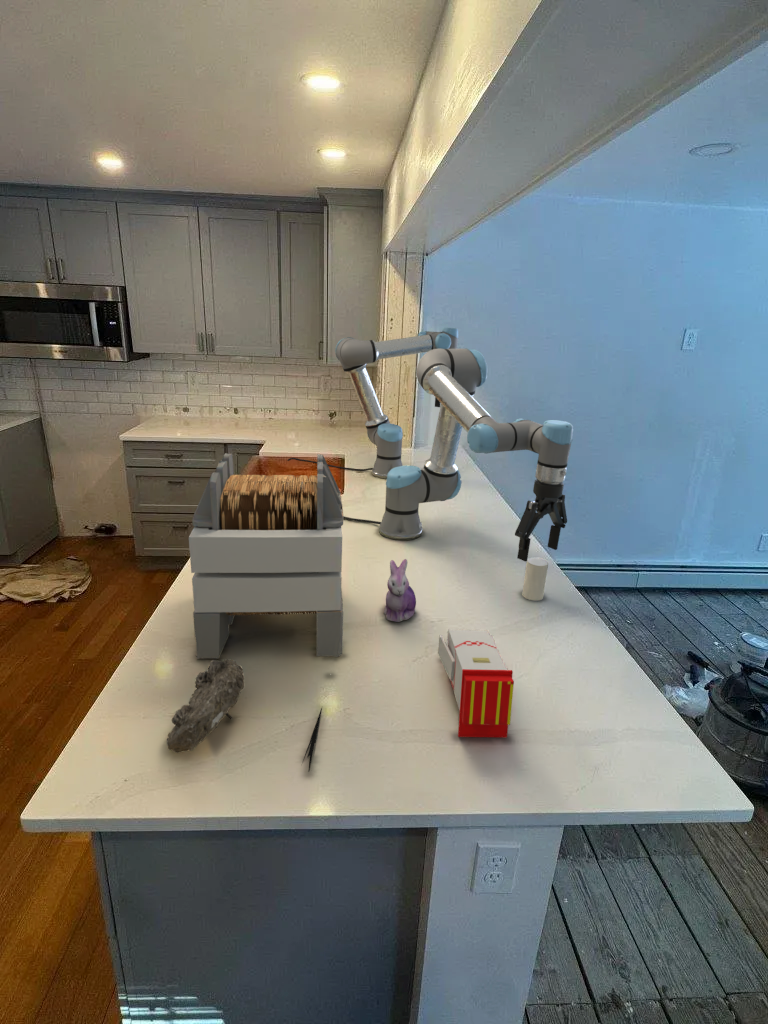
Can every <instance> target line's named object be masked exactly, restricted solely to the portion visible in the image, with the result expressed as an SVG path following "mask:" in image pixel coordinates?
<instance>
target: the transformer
mask: <svg viewBox="0 0 768 1024" xmlns="http://www.w3.org/2000/svg"><path fill="white" fill-rule="evenodd" d="M316 457H317V458H316V462H317V465H316V466H317V467H316V475H309V476H308V475H304V474H303V475H302V474H301V475H298V476H295V475H293V474H272V475H265V474H242V475H241V474H235V472H234V458H233V453H227V452H225V453H224V454H223V456H222V458H221V460H219V461H218V464H217V466H216V468H215V469H214V470H215V471H214V472H211V475H210V477H209V479H208V481H207V484H206V486H205V488H204V489H203V493H202V494H201V496H200V499H199V502H198V504H197V507H196V509H195V510H194V513H193V516H192V518H191V520H192V526H193V528H192V530H191V532H190V534H189V536H188V547H189V558H190V559H189V560H190V572H191V574H193V575H192V577H191V584H192V585H191V586H192V597H193V609H194V610H193V612H192V614H193V615H192V617H193V618H192V619H193V629H194V640H195V648H196V655H195V657H196V659H197V660H203V659H220V657H221V654H222V652H223V649H224V648H225V645H226V643H227V640H228V638H229V636H230V626H232V625H233V621H234V618H235V616H250V615H251V616H253V615H254V616H256V615H257V616H260V615H263V616H265V615H267V616H269V615H275V616H276V615H277V616H278V615H305V614H306V615H308V614H309V615H311V614H313V615H316V657H335V658H337V657H340V656H342V655H343V647H344V646H343V644H344V643H343V642H344V641H343V640H344V639H343V638H344V608H343V607H344V606H343V605H344V604H343V595H342V579H343V577H342V567H343V566H342V565H343V564H342V562H343V530H342V529H343V528H342V527H343V525H344V520H345V519H344V517H345V516H344V510H343V500H342V494H341V493H342V492H341V491H340V488H339V486H338V484H337V482H336V480H335V477H334V475H333V474H332V471H331V469H330V466H328V465H329V464H328V462H327V461H326V458H325V456H324V454H320V453H317V455H316ZM327 464H328V465H327ZM343 516H344V517H343Z"/></svg>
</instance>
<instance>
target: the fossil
mask: <svg viewBox="0 0 768 1024" xmlns="http://www.w3.org/2000/svg"><path fill="white" fill-rule="evenodd" d="M243 670H244V669H243V667H242V665H240V664H237V662H236V661H235V660H234V659H232V658H231V659H227V658H226V659H224V660H223V661H222V660H217V659H212V660H211V661H210V663H209V665H208V666H207V671H201V672H199V673H198V674H197V675H196V676H195V680H194V684H195V685H194V687H195V689H194V690H193V693H192V694H191V697H190V698H189V700H188V704H184V705H182V706H181V707H180V709H177V710H176V711H175V713H174V715H173V716H172V718H171V723H172V724H173V727H172V730H171V731H170V732H168V734H167V738H166V741H167V742H166V745H167V749H168V750H169V751H173V752H174V753H176V754H178V753H182V752H188V751H189V752H192V751H193V750H195V748H196V747H197V746H199V744H200V743H201V742H203V741H204V740H205V739H206V738H207V737H208V736H209V735H210V734H211V733H212V732H214V730H215V729H217V727H218V726H219V724H220V722H221V721H222V720H223V719H224V718H225V716H226V717H227V719H229V720H233V717H232V715H230V714H229V710H230V709H231V708H234V706H235V704H236V703H237V702H238V699H239V697H240V695H241V693H242V691H243V690H245V689H244V688H245V675H244V671H243Z"/></svg>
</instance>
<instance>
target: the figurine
mask: <svg viewBox="0 0 768 1024" xmlns="http://www.w3.org/2000/svg"><path fill="white" fill-rule="evenodd" d="M407 567H408V559H406V558H404V559H403V560H402V561H401V563H400V565H399V566H398V565H397V563H396V562H395V561H394V560H393V559H391V560H390V561H389V570H390V576H389V578H388V579H387V589H388V591H387V592H386V594H385V595H386V596H385V607H384V615H385V616H386V620H387V621H391V622H395V623H400V622H402V621H406V620H409V619H410V618H411V617H413V616H414V615H415V610H416V606H417V597H416V593H415V591H414V590H413V587H411V586H410V582H409V579H408V577H407V574H406V571H407Z"/></svg>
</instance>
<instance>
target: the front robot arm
mask: <svg viewBox="0 0 768 1024" xmlns="http://www.w3.org/2000/svg"><path fill="white" fill-rule="evenodd" d="M487 378H488V364H487V361H486V359H485V356H484V355H483V353H481V351H479V350H477V349H473V348H467V347H466V348H457V349H442V348H439V349H433V350H430V351H429V352H425V353H423V354H422V356H421V358H420V359H419V361H418V363H417V366H416V379H417V381H418V384H419V385H420V387H421V388H422V389H423V390H424V391H425V392H426V393H427V394H428V395H433V397H434V398H435V397H436V398H437V399H438V400H439V402H440V407H439V412H438V416H437V422H436V427H435V431H434V437H433V442H432V448H431V452H430V457H429V458H428V459H426V460H425V462H424V465H423V469H421V467H419V466H416V465H412V464H411V465H406V464H405V465H403V466H399V467H395V468H393V469H391V470H390V471H389V472H388V474H387V479H385V504H384V505H385V507H384V508H385V509H384V513H383V515H382V519H381V521H377V520H370V519H361V518H354V517H349V516H344V515H343V517H344V520H347V521H353V522H358V523H359V522H361V523H367V524H375V525H378V533H379V534H380V535H381V536H382V537H385V538H387V539H389V540H395V541H410V540H415V539H418V538H420V537H421V536H422V535H423V523H422V521H421V518H420V515H419V507H420V506H419V505H420V504H425V503H426V504H427V503H433V502H445V501H448V500H453V499H454V498H455V497H457V495H458V494H459V493H460V490H461V487H462V480H461V479H462V475H461V473H460V471H459V468H458V465H457V464H456V463H455V462H456V458H457V453H458V449H459V444H460V440H461V435H462V432H463V430H464V431H465V432H466V433H467V436H466V441H467V444H468V447H469V449H470V450H471V451H472V452H474V453H475V454H492V453H494V454H495V453H504V452H516V451H517V452H518V451H530V452H533V453H535V454H538V457H537V462H536V468H535V475H534V477H535V479H534V481H533V488H532V491H533V494H534V495H535V498H534V501H532V500H527V502H526V504H525V509H524V512H523V513H522V516H521V518H520V521H519V523H518V525H517V527H516V529H515V532H514V536H515V537H518V538H519V541H518V550H517V559H519V560H521V561H522V562H525V563H527V559H528V558H529V552H530V547H531V546H530V545H531V540H532V539H531V538H530V536H531V535H532V534H533V531H534V530H535V528H536V526H537V525H538V523H539V521H540V520H542V519H543V518H544V516H546V515H548V516H549V518H550V520H551V522H552V524H551V525H550V529H549V530H550V531H549V535H548V542H547V548H549V549H552V550H554V551H556V550H557V551H558V548H559V541H560V535H561V529H565V528H566V524H567V523H568V515H567V509H566V503H565V502H566V501H565V500H566V495H565V494H563V492H564V486H565V483H564V482H565V480H566V476H567V467H568V463H569V457H570V453H571V446H572V443H573V433H574V426H573V424H572V423H570V422H568V421H565V420H564V421H563V420H559V419H548V420H545V421H544V422H543V423H542V424H541V423H539V422H536V421H533V420H531V419H528V418H527V419H525V418H517V419H515V420H514V421H512V422H498V421H497V420H496V419H495V418H494V417H492V415H490V414H489V413H488V412H487V411H486V410H485V408H484V407H483V406H481V404H480V403H479V402H478V401H477V400H476V399H475V398H474V397H475V394H476V390H477V388H479V387H481V386H483V384H485V382H486V380H487Z"/></svg>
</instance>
